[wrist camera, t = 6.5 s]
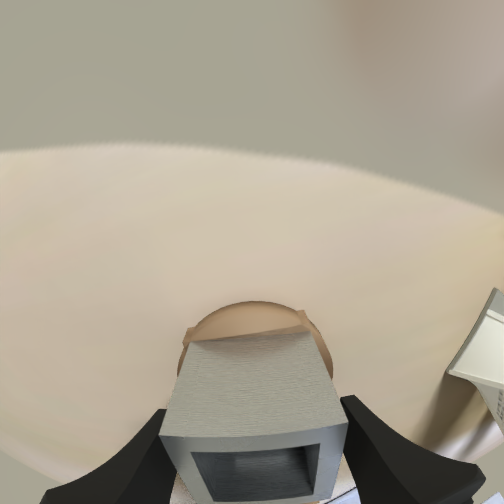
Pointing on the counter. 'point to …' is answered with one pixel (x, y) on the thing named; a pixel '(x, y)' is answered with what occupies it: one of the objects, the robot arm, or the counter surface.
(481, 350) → the skyscraper
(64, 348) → the counter surface
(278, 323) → the walnut base
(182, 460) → the steel collar
